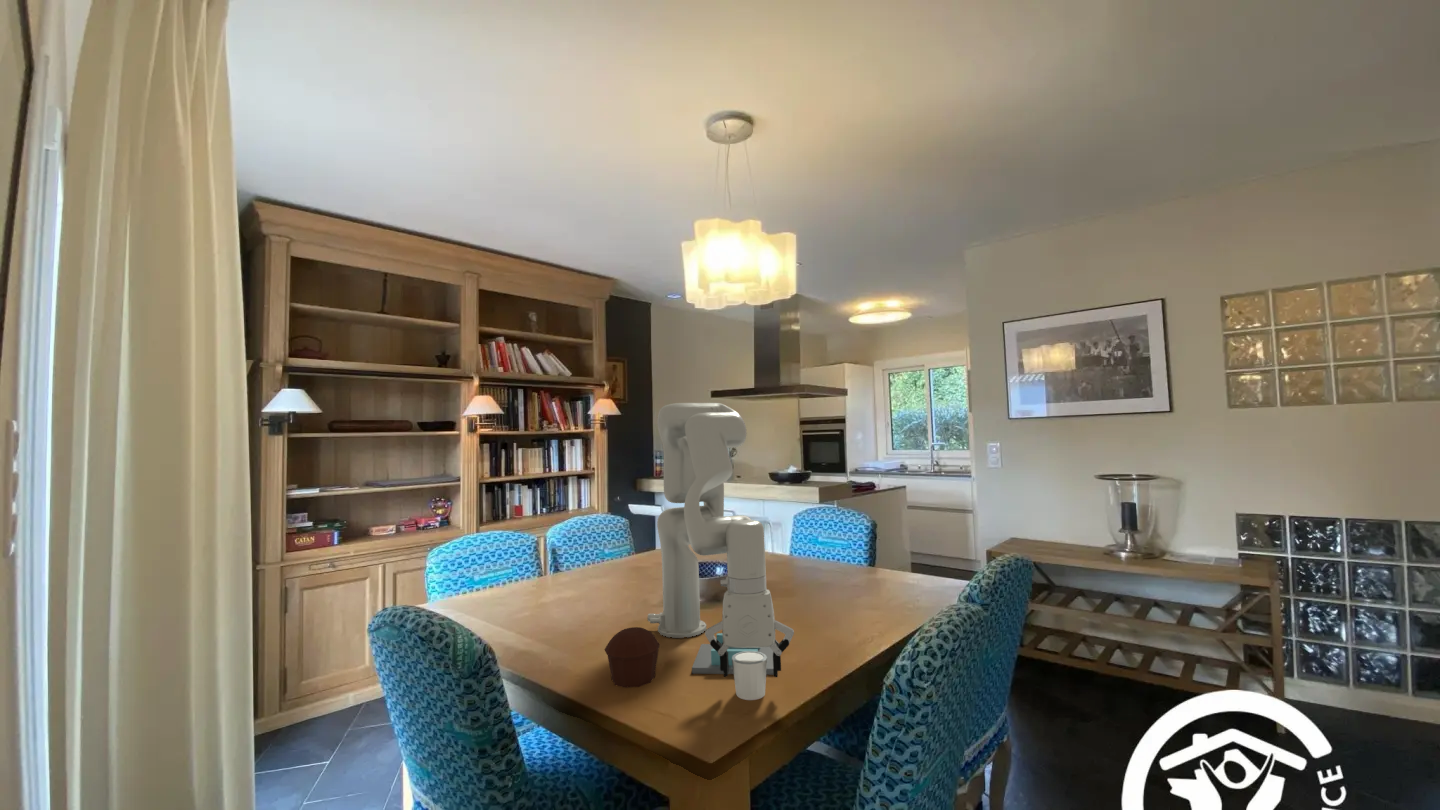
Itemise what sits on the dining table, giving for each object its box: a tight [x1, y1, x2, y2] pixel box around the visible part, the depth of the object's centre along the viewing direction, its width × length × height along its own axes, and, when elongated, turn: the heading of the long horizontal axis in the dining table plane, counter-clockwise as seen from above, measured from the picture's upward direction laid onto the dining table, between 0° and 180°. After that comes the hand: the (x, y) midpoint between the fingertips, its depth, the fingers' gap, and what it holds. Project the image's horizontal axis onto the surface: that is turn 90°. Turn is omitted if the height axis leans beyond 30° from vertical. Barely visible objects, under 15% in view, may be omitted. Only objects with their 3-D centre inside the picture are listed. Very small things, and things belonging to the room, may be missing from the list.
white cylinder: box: [732, 651, 767, 701], centre depth 112 cm, size 7×7×7 cm
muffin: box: [604, 626, 661, 689], centre depth 121 cm, size 12×11×10 cm
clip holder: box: [691, 632, 774, 676], centre depth 129 cm, size 18×14×4 cm
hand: (751, 674), depth 112 cm, fingers open, 9 cm apart
